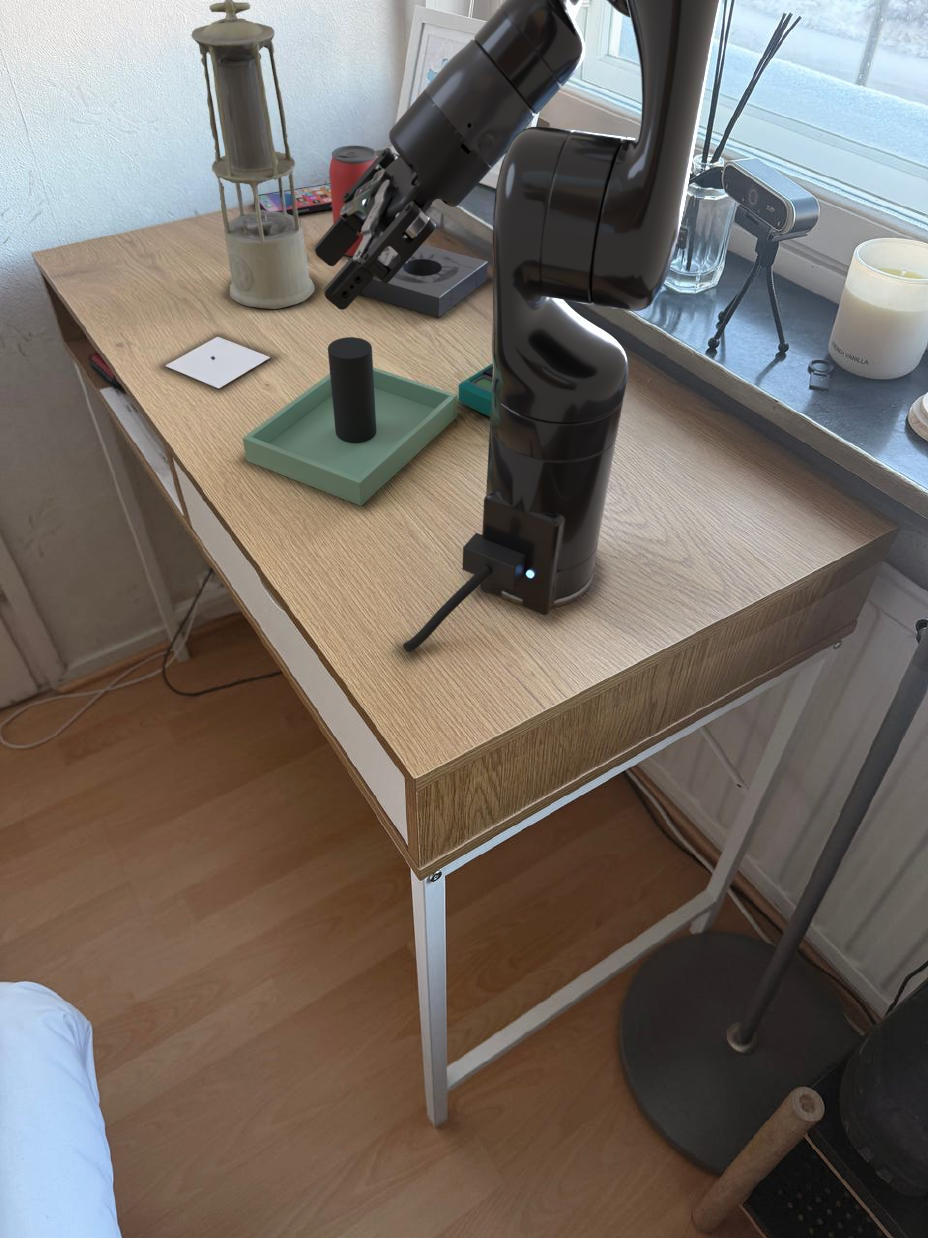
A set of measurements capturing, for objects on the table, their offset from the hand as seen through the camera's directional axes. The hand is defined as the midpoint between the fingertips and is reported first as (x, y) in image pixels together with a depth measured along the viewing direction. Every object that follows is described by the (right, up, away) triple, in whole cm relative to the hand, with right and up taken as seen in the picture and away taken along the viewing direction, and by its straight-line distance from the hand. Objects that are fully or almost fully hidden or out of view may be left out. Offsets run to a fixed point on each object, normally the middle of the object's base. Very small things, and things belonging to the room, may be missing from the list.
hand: (327, 279), depth 74 cm
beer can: (-2, +21, +43) cm, 48 cm away
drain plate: (+6, +13, +35) cm, 38 cm away
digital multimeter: (+18, -4, +19) cm, 27 cm away
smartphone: (-11, +32, +54) cm, 63 cm away
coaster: (-15, -1, +21) cm, 26 cm away
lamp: (-12, +13, +35) cm, 39 cm away
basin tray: (+1, -11, +12) cm, 16 cm away
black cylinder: (+1, -10, +12) cm, 16 cm away
